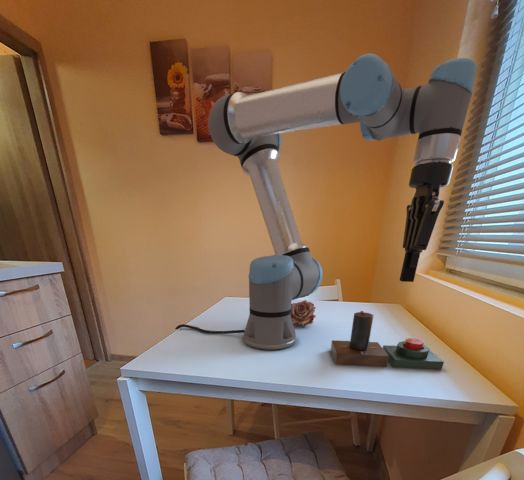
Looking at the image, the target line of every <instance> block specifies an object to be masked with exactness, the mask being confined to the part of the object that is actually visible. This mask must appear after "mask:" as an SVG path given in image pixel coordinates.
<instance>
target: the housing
mask: <svg viewBox="0 0 524 480" xmlns="http://www.w3.org/2000/svg"><path fill="white" fill-rule="evenodd" d="M404 344H405V340H402V341H399V342H397V345H385V344H384V345H383V346H382V348H383V349H384V351H385V352H386V353H387V354H388V356H389V358H388V363H389V365H391V367H392V368H393V369H412V370H413V369H414V370H429V371H430V370H431V371H432V370H434V371H442V370H443V366H444V363H445V361H444V360H443V359H442V358H440V357H439V356H438V355H437V354H435V353H434V352H433V351H432V350H431V349H430V347H428V346H427V345H425V344H423V348H422V350H413V349H408V348H406V347H404Z"/></svg>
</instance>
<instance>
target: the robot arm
mask: <svg viewBox="0 0 524 480" xmlns="http://www.w3.org/2000/svg"><path fill="white" fill-rule="evenodd" d="M477 71H478V65H477V64H476V61H475V60H474V59H472V58H469V57H457V58H451V59H448V60H446V61H444V63H440V64H438V65H437V66H435V68H434V69H433V70H432V72H431V73H430V77H429V79H428V82H427V83H424V84H422V85H418V86H414V87H410V88H405V89H404V88H403V86H402V85H401V84H400V82H399V81H398V80H397V78H396V76H395V75H394V73H393V71H392V69H391V67H390V65H389V64H388V62H386V61H385V60H384V59H382V58H381V57H380V56H379V55H377V54H376V53H365V54H362V55H360V56H358V57H357V58H356V59H355V60H354V61H353V62H352V63H351V64H350V65H348V67H347V69H346V71H343V72H339V73H334V74H332V75H327V76H323V77H319V78H315V79H310V80H307V81H303V82H299V83H294V84H290V85H285V86H282V87H278V88H274V89H270V90H265V91H261V92H258V93H253V94H248V95H246V93H244V92H243V91H237V92H236V91H235V92H233V93H229V94H226V95H223V96H221V97H220V98H218V99H217V100H215V102H214V103H213V105H212V106H211V108H210V110H209V114H208V121H207V123H208V131H209V135H210V137H211V140H212V141H213V143H214V145H215V146H216V147H217V148H218V149H219V150H220V151H222V152H223V153H224V154H228V155H230V156H232V157H233V156H234V157H236V158H238V160H239V163H240V164H239V165H240V166H241V169H242V172H243V174H245V175H247V176H249V178H250V181H251V183H252V187H253V190H254V193H255V196H256V199H257V202H258V206H259V208H260V209H259V210H260V212H261V215H262V218H263V221H264V224H265V227H266V231H267V234H268V237H269V240H270V243H271V246H272V248H273V251H274V252H273V253H274V254H273V255H264V256H260V257H256V258H254V259H253V260H252V261H251V262H250V264H249V271H248V272H249V273H248V289H249V290H248V291H249V292H248V295H249V296H248V297H249V298H248V300H249V301H248V302H249V315H248V319H247V322H246V325H245V329H234V330H233V329H231V330H209V329H202V328H200V327H197V326H194V325H190V324H183V323H181V324H178V325H176V327H175V330H179V329H181V328H188V329H190V330H191V329H192V330H196V331H199V332H200V333H203V334H210V335H211V334H212V335H217V334H218V335H227V334H228V335H229V334H243V343H244V344H245V345H247V346H249V347H250V348H254V349H257V350H263V351H278V350H285V349H288V348H291V347H292V346H294V345H295V344H296V338H297V336H296V330H295V326H294V322H292V319H291V304H292V301H294V300H297V299H300V298H306V297H308V296H310V295H312V294H313V293H315V292H317V290H318V289H319V288H320V287H321V286H320V285H321V284H322V282H323V276H324V273H323V272H324V271H323V268H322V265H321V263H320V262H319V260H317V259H315V258H314V257H312V254H311V250H310V248H309V246H308V245H306V244H304V243H303V242H302V239H301V236H300V233H299V230H298V226H297V223H296V220H295V217H294V213H293V209H292V207H291V204H290V201H289V197H288V195H287V191H286V187H285V184H284V182H283V178H282V175H281V171H280V168H279V165H278V163H279V161H280V158H281V154H280V151H281V145H282V134H286V133H292V132H300V131H305V130H313V129H319V128H327V127H333V126H334V127H335V126H340V125H351V124H357V123H359V129H360V133H361V137H362V138H363V140H365V141H368V142H369V141H382V140H386V139H393V138H398V137H403V136H410V135H415V134H418V138H417V141H416V146H415V150H414V155H413V161H412V164H413V165H414V166H413V168H411V172H410V177H409V182H408V186H409V188H411V189H415V193H414V195H413V197H412V199H411V204H407V206H406V217H405V224H404V225H405V226H404V231H403V232H404V233H403V241H402V249H404V252H405V253H404V258H403V262H402V267H401V270H400V276H399V281H400V282H403V283H404V282H406V283H414V281H415V277H416V272H417V269H418V266H419V265H418V264H419V260H420V256H421V254H422V253H423V251H426V250H427V249H428V245H429V243H430V240H431V237H432V234H433V232H434V229H435V226H436V223H437V220H438V218H439V217H438V216H439V214H440V212H441V211H442V208H443V206H444V205H445V200H444V199H439V198H440V190H441V188H444V187H447V186H448V185H449V184H450V181H451V177H452V173H453V170H454V165H453V162H454V161H455V160H456V157H457V153H458V151H459V150H460V148H461V146H460V141H461V137H462V134H463V129H464V124H465V123H466V118H467V114H468V111H469V107H470V103H471V100H472V97H473V93H474V92H473V89H474V86H475V81H476V75H477Z"/></svg>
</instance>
